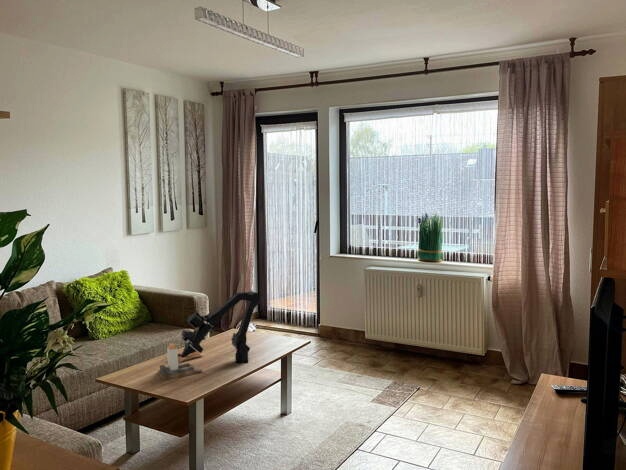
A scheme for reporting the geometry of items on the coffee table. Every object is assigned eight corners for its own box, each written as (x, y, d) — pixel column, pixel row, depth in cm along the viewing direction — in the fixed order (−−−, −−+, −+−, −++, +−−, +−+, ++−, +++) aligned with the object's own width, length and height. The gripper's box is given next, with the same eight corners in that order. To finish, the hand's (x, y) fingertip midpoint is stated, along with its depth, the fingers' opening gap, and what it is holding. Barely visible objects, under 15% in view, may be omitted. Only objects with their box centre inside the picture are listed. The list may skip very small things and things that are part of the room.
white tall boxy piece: (175, 368, 281) (174, 341, 280) (178, 371, 277) (177, 344, 276) (167, 370, 279) (166, 342, 278) (170, 373, 275) (169, 345, 274)
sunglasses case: (177, 364, 293) (173, 352, 295) (171, 368, 298) (167, 357, 299) (204, 356, 307) (200, 345, 308) (198, 360, 311) (194, 349, 313)
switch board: (195, 366, 290) (194, 358, 290) (202, 372, 280) (202, 364, 280) (157, 372, 280) (157, 364, 280) (163, 379, 270) (163, 371, 270)
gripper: (184, 320, 289) (165, 343, 285) (196, 328, 273) (175, 353, 269) (199, 332, 294) (180, 355, 289) (211, 340, 278) (191, 365, 273)
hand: (181, 357), depth 280 cm, fingers closed
